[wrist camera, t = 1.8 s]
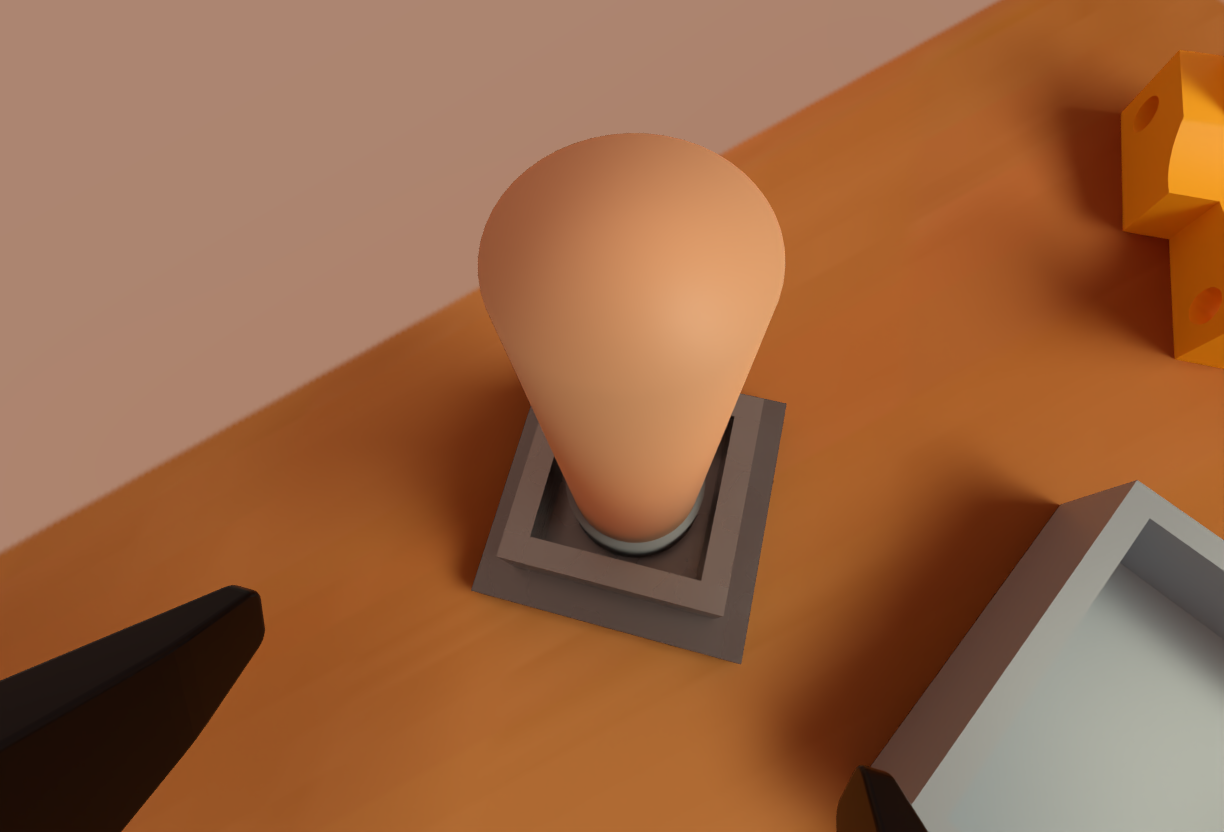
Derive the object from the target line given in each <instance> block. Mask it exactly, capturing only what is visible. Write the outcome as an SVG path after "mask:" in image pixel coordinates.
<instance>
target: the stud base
mask: <svg viewBox="0 0 1224 832" xmlns="http://www.w3.org/2000/svg"><path fill="white" fill-rule="evenodd" d="M785 409H786V403H781V402H777V401H772V400H767V399H763V398H758V397H754V396H749V395H745V394H740V395H739V397H738V400H737V402H736V405H735V407H734V409H733V412H732V414H731V417H730V419H729V422H728V424H727V426H726V429H725V431H724V434H723V436H722V439H721V441H720V443H719V446H718V448H717V451H716V453H715V455H714V458H713V460H712V463H711V465H710V468H709V470H708V472H707V475H706V477H705V492H704V497H703V501H702V504H701V507H700V509H699V511H698V513H697V515H696V518H695V520H694V522H693V524H692V526H691V527H690V529H689V531H688V532H687V533H686V534H685V536H684V537H683V538H682V539H681V540H680V541H679V542H678V543H677V544H675V545H674V546H672V547H671V548H670V549H668V550H666V551H664V552H662V553H659V554H656V555H653V556H649V557H641V558H630V557H624V556H619V555H616V554H613V553H610V552H608V551H606V550H604V549H603V548H601V547H600V546H598V545H597V544H596V543H594V542H593V541H592V540H591V539H590V538H589V537H588V536H587V535H586V533H585V532H584V531H583V529H582V528H581V526H580V524H579V522H578V520H577V518H576V517H575V515H574V513H573V510H572V508H571V506H570V503H569V500H568V497H567V491H566V480H565V478H564V476H563V474H562V472H561V469H560V467H559V465H558V463H557V461H556V459H555V456H554V454H553V452H552V450H551V448H550V446H549V443H548V441H547V439H546V437H545V435H544V433H543V431H542V428H541V426H540V424H539V422H538V420H537V418H536V415H535V413H534V411H533V409H532V407H530V410H529V413H528V416H527V419H526V422H525V425H524V428H523V431H522V435H521V438H520V441H519V444H518V447H517V450H516V453H515V456H514V459H513V462H512V466H511V469H510V472H509V475H508V478H507V481H506V484H505V487H504V490H503V493H502V496H501V500H500V503H499V506H498V509H497V512H496V515H495V518H494V521H493V524H492V527H491V531H490V534H489V537H488V540H487V543H486V546H485V549H484V552H483V555H482V558H481V561H480V565H479V568H478V571H477V574H476V577H475V580H474V583H473V586H472V589H471V590H472V591H475V592H478V593H482V594H486V595H489V596H493V597H497V598H500V599H504V600H508V601H511V602H515V603H519V604H522V605H526V606H530V607H533V608H537V609H541V610H544V611H548V612H552V613H555V614H559V615H563V616H566V617H570V618H573V619H577V620H581V621H584V622H588V623H592V624H595V625H599V626H603V627H606V628H610V629H614V630H617V631H621V632H625V633H628V634H632V635H636V636H639V637H643V638H647V639H650V640H654V641H658V642H661V643H665V644H669V645H672V646H676V647H679V648H683V649H687V650H690V651H694V652H698V653H701V654H705V655H709V656H712V657H716V658H720V659H723V660H727V661H731V662H734V663H738V664H741V662H742V656H743V650H744V645H745V639H746V633H747V627H748V622H749V616H750V610H751V604H752V599H753V593H754V587H755V581H756V576H757V570H758V564H759V558H760V553H761V547H762V541H763V536H764V530H765V524H766V518H767V513H768V507H769V501H770V495H771V490H772V484H773V478H774V472H775V467H776V461H777V455H778V449H779V444H780V438H781V432H782V426H783V421H784V415H785Z"/></svg>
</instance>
